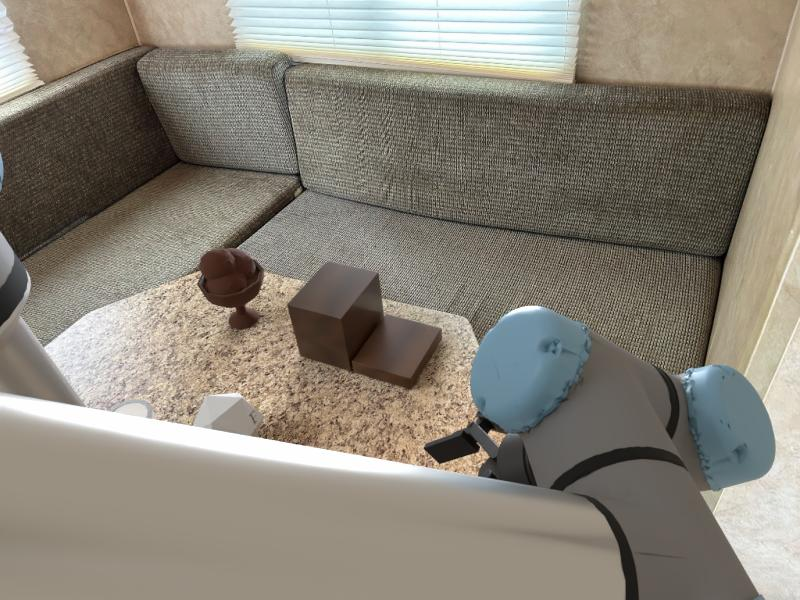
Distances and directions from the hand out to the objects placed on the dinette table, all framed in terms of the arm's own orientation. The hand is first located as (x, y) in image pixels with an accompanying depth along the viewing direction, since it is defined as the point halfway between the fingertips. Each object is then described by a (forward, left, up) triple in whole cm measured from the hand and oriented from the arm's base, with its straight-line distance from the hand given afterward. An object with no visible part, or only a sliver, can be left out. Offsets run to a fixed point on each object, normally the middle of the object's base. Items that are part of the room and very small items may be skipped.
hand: (406, 503), depth 64 cm
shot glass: (-37, +19, -11) cm, 43 cm away
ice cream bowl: (-27, +46, -11) cm, 54 cm away
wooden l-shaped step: (-5, +36, -11) cm, 38 cm away
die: (-24, +19, -11) cm, 33 cm away
